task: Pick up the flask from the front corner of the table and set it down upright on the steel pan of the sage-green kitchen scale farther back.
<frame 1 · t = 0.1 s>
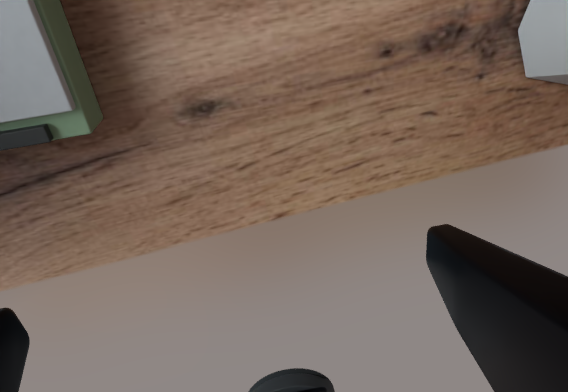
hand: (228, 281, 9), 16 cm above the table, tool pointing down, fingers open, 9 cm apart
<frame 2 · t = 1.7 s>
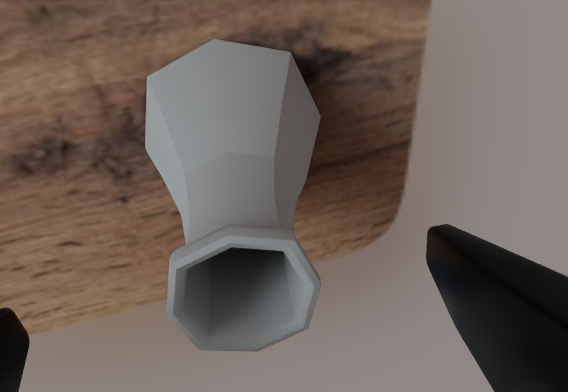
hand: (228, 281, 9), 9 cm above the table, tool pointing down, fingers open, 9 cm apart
flask: (233, 127, 17), on the table
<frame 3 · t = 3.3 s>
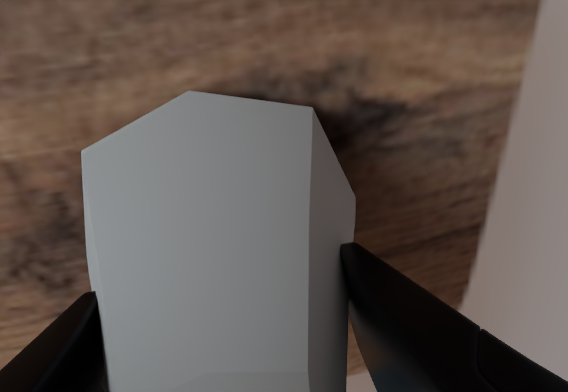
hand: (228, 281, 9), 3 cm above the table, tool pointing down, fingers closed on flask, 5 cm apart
flask: (223, 215, 11), on the table, touching gripper
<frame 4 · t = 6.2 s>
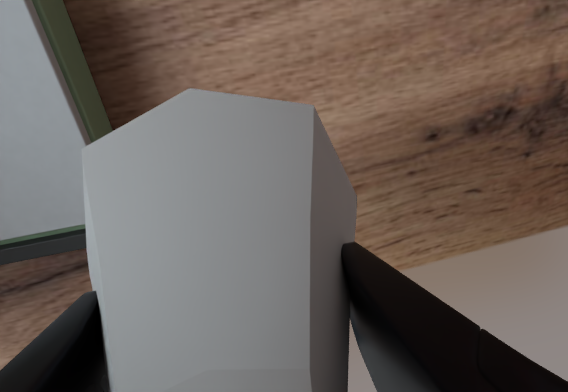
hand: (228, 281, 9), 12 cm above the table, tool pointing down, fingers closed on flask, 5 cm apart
kitchen scale: (6, 116, 19), on the table
flask: (224, 213, 11), point 10 cm above the table, touching gripper
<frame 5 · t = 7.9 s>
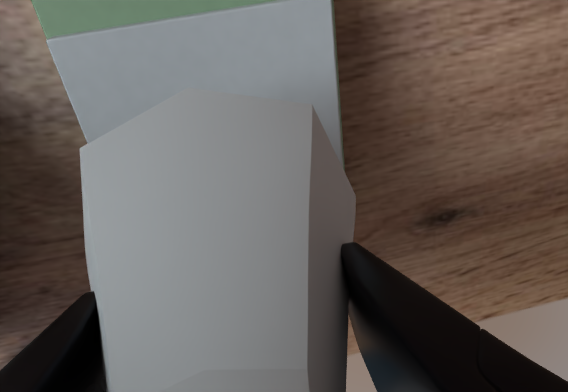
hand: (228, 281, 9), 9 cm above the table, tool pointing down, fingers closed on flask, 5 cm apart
kitchen scale: (223, 130, 17), on the table
flask: (222, 213, 11), point 6 cm above the table, touching gripper
when the fingers open (6 cm above the table, at t = 9.3 s): flask stays where it is, resting on kitchen scale.
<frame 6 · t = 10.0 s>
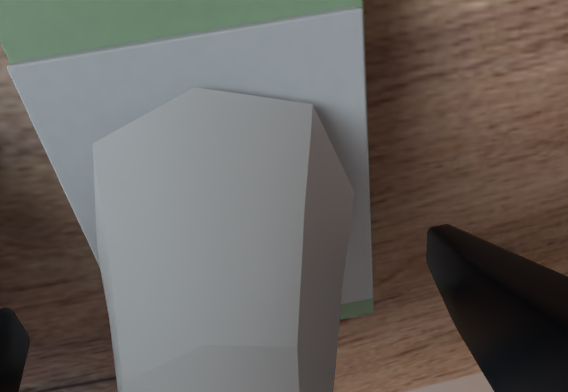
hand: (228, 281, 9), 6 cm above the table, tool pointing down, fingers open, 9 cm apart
kitchen scale: (227, 163, 14), on the table
flask: (227, 207, 12), point 3 cm above the table, touching kitchen scale
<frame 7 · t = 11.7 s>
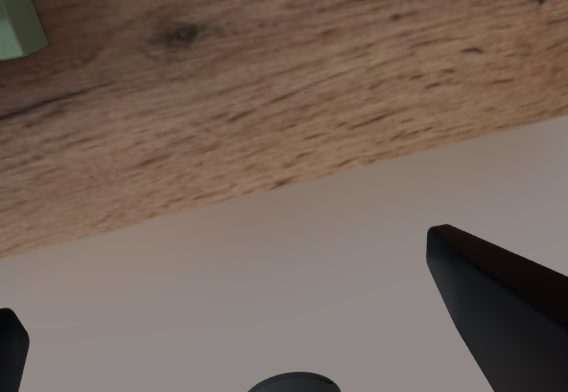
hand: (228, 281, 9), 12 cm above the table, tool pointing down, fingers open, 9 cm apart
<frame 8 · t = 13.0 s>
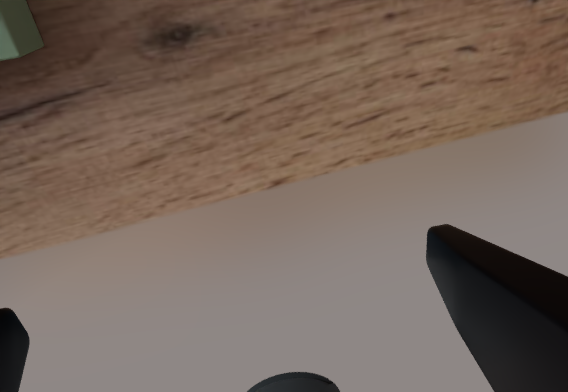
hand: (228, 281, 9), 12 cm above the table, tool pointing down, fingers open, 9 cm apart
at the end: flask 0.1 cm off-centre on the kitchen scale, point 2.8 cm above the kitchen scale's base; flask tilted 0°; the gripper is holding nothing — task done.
